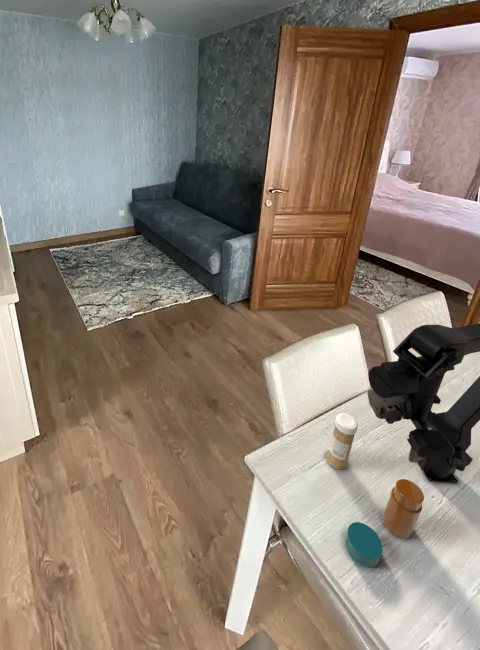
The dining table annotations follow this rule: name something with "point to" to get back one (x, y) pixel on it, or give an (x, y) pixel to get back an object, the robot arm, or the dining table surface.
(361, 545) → the lid
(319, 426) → the dining table surface
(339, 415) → the sprinkles bottle
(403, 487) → the jar
